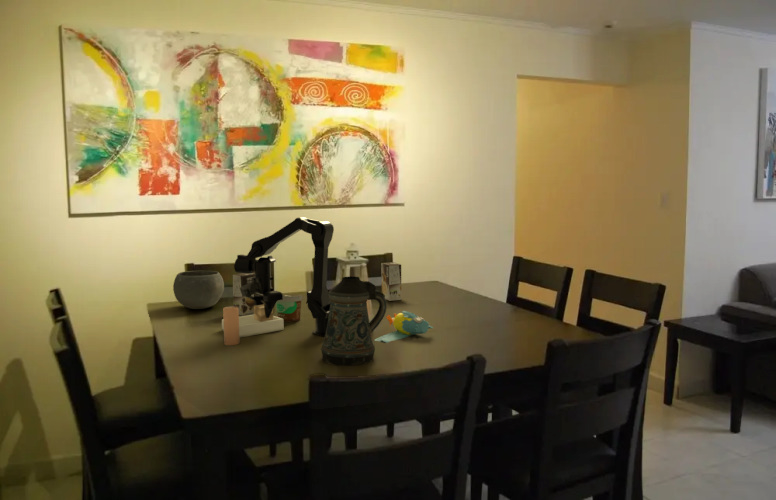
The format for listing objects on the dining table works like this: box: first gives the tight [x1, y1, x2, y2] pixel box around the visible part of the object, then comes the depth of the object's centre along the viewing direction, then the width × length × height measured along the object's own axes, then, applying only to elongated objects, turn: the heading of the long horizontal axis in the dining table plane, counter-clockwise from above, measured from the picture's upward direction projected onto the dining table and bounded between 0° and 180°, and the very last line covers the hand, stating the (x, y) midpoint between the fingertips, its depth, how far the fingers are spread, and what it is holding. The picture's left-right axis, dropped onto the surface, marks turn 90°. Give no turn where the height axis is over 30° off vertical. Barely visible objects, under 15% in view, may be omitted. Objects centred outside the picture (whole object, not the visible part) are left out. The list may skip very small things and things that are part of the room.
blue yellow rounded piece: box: [374, 310, 434, 344], centre depth 226 cm, size 28×9×15 cm
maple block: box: [253, 304, 274, 321], centre depth 235 cm, size 5×5×5 cm
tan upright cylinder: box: [222, 306, 241, 346], centre depth 214 cm, size 5×5×12 cm
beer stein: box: [320, 276, 388, 367], centre depth 196 cm, size 16×19×25 cm
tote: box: [221, 314, 285, 338], centre depth 232 cm, size 14×18×4 cm
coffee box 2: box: [380, 261, 402, 302], centre depth 290 cm, size 9×6×16 cm
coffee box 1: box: [232, 272, 256, 316], centre depth 261 cm, size 9×6×16 cm
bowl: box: [172, 270, 225, 310], centre depth 270 cm, size 20×20×15 cm
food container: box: [275, 294, 304, 323], centre depth 247 cm, size 12×6×10 cm, turn 62°
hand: (263, 316), depth 235 cm, fingers closed on maple block, 5 cm apart
